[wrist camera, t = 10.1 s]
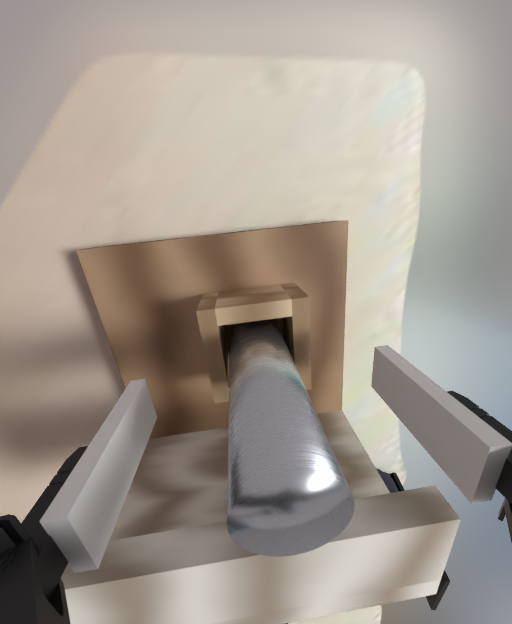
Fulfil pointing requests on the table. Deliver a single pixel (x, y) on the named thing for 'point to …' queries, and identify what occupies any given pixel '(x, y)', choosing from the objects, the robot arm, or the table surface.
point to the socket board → (215, 431)
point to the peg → (278, 452)
